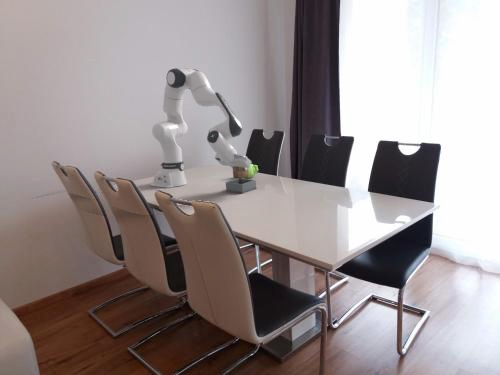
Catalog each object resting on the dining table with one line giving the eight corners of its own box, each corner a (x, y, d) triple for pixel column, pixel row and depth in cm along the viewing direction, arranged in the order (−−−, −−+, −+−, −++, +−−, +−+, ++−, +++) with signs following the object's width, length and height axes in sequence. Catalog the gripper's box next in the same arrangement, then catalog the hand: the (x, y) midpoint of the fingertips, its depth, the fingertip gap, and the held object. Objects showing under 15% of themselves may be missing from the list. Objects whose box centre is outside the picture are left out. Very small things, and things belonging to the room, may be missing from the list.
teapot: (259, 177, 260) (258, 162, 257) (244, 180, 254) (243, 165, 252) (249, 175, 269) (248, 160, 267) (234, 177, 264) (233, 162, 261)
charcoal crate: (226, 190, 230) (225, 182, 229) (239, 186, 239) (239, 178, 238) (242, 193, 223) (242, 184, 222) (256, 188, 232) (255, 180, 231)
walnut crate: (233, 177, 229) (232, 163, 227) (240, 175, 233) (239, 161, 232) (241, 178, 225) (240, 164, 223) (248, 176, 230) (247, 162, 228)
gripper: (245, 150, 214) (258, 165, 224) (217, 148, 226) (229, 163, 236) (241, 160, 212) (253, 175, 221) (212, 158, 224) (225, 172, 234)
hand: (241, 169), depth 229 cm, fingers closed on walnut crate, 6 cm apart
